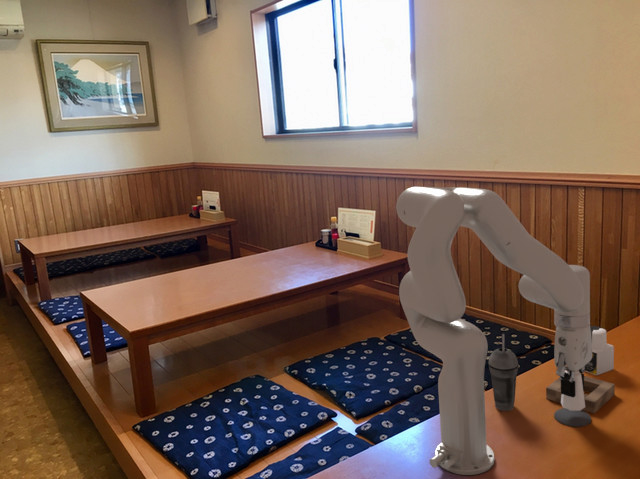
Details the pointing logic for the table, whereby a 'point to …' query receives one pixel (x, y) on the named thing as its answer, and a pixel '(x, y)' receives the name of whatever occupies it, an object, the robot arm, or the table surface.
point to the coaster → (572, 417)
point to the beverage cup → (503, 377)
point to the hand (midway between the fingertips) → (572, 390)
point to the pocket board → (593, 401)
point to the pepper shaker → (577, 401)
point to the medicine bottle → (600, 353)
